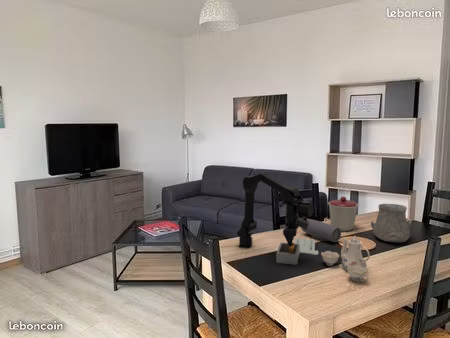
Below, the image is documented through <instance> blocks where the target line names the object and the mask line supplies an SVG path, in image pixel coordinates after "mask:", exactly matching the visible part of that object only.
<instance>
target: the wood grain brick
mask: <svg viewBox="0 0 450 338" xmlns="http://www.w3.org/2000/svg"><path fill="white" fill-rule="evenodd" d="M283 253H288V252H283ZM289 253H290V254H295V243H294V242H293V241H292V246H291V247H289Z"/></svg>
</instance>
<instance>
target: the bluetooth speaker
mask: <svg viewBox="0 0 450 338" xmlns="http://www.w3.org/2000/svg"><path fill="white" fill-rule="evenodd" d="M307 221H308V222H309V225H308V227H307V230H305V229H303V228H301V231H302V232H304V233H306V234H308V235H309V236H310V235H311V236H312V238H315V239H317V240H320V241H324V242H333V243H337V242H338V241H339V240H340V239H341V237H342V231H341V230H340V228H338V227H336V226H333V225H331V223H330V224H329V223H327V222H323V221H320V220H316V219H311V218H307Z"/></svg>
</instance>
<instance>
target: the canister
mask: <svg viewBox="0 0 450 338" xmlns="http://www.w3.org/2000/svg"><path fill="white" fill-rule="evenodd" d="M327 204H328V206H329V207H328V208H329V219H330V225H333V226H336V227H338V228H340V230H341V232H349V231H352V230H353V228H354V227H355V223H356V218H357V217H356V215H357V210H358V206H359V204H358V203H357V202H356V201H354V200H348V199H347V197H345V196H341V197H340V198H339V199H332V200H330V201H328V203H327Z"/></svg>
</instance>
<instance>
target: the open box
mask: <svg viewBox="0 0 450 338" xmlns="http://www.w3.org/2000/svg"><path fill="white" fill-rule="evenodd" d="M283 252H288V253H283ZM275 256H276V261H275V262H276V263H277V264H285V265H287V264H288V265H294V266H295V265H296V266H297V265H298V263H299V258H300V244H295V254H290V253H289V245H288V243H287V242H280V243H279V246H278V247H277V251H276V255H275Z"/></svg>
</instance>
